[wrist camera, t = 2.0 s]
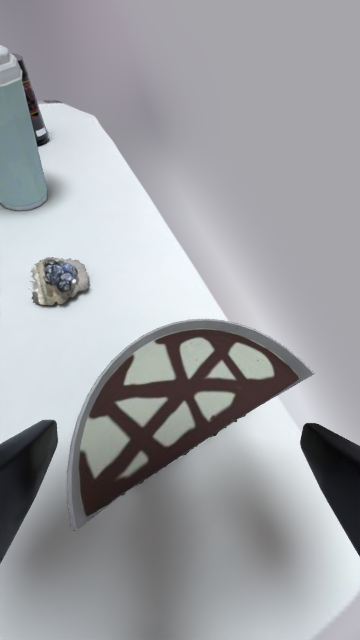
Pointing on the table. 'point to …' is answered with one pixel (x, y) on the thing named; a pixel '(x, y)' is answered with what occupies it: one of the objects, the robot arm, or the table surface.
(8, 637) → the table surface
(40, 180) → the disposable coffee cup
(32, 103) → the supplement container
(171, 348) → the food container
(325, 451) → the robot arm
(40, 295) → the crystal geode
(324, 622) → the table surface
